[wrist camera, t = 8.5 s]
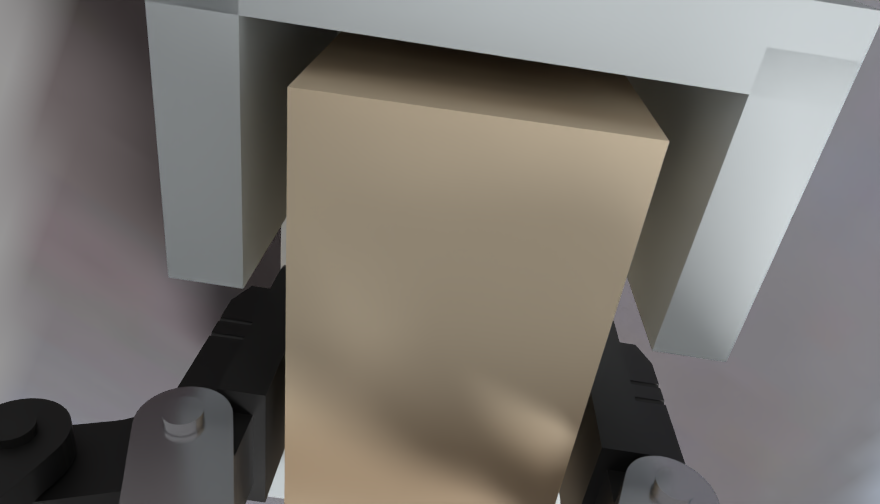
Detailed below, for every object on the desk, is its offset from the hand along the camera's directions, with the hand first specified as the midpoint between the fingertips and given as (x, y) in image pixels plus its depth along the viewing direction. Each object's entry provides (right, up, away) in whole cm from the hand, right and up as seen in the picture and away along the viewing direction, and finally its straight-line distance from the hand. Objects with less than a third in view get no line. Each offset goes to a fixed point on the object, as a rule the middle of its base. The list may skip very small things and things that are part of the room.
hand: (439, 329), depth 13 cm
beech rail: (0, +1, +2) cm, 2 cm away
